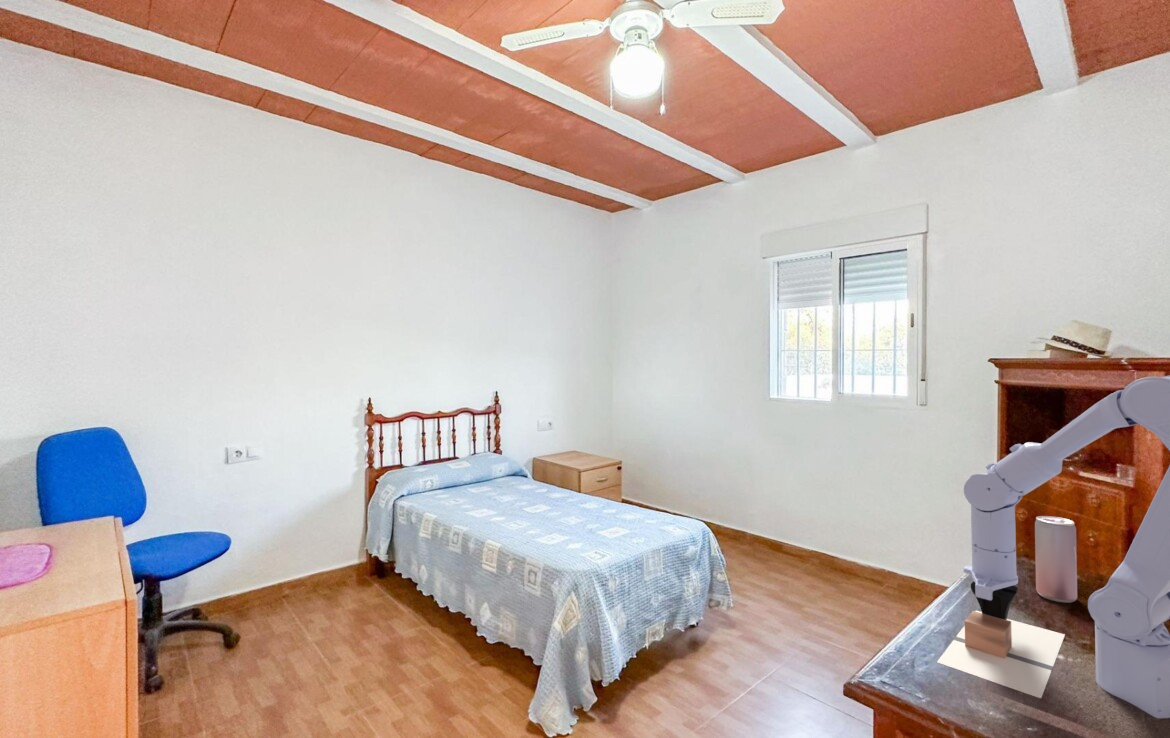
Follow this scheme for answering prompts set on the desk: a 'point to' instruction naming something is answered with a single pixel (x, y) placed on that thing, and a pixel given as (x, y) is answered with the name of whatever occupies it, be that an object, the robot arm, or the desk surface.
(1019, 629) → the board
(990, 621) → the block
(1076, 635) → the desk surface
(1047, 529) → the beverage can
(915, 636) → the desk surface
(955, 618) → the desk surface
